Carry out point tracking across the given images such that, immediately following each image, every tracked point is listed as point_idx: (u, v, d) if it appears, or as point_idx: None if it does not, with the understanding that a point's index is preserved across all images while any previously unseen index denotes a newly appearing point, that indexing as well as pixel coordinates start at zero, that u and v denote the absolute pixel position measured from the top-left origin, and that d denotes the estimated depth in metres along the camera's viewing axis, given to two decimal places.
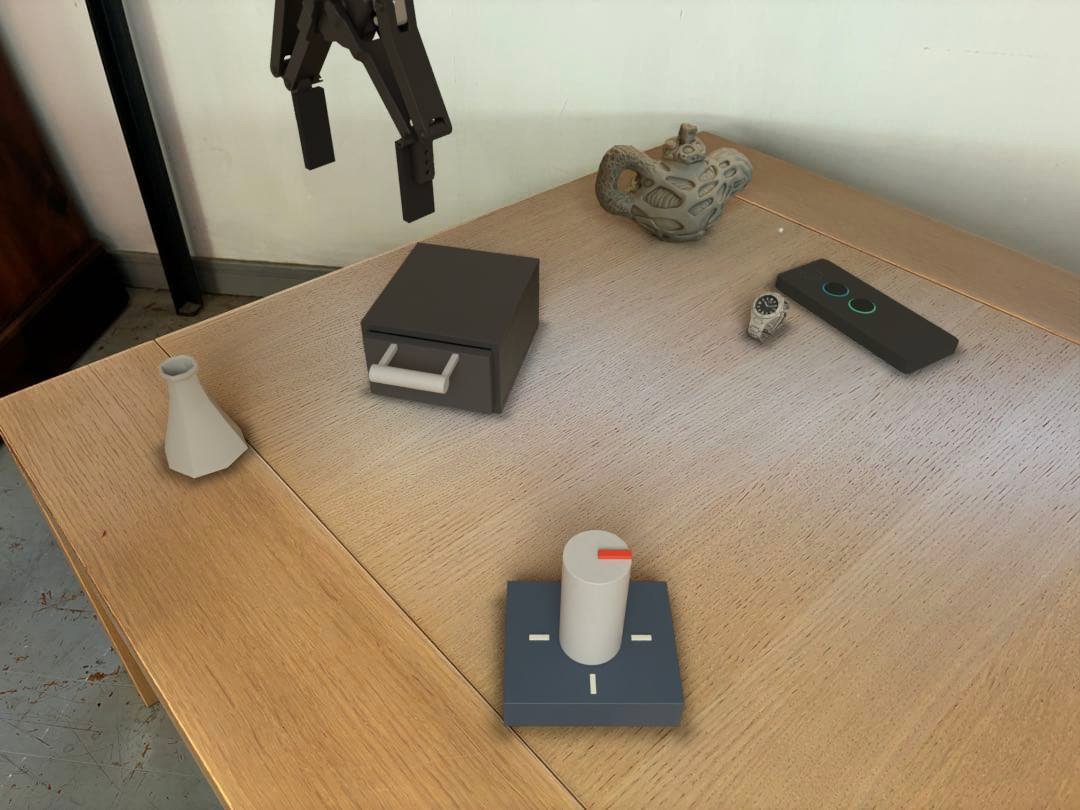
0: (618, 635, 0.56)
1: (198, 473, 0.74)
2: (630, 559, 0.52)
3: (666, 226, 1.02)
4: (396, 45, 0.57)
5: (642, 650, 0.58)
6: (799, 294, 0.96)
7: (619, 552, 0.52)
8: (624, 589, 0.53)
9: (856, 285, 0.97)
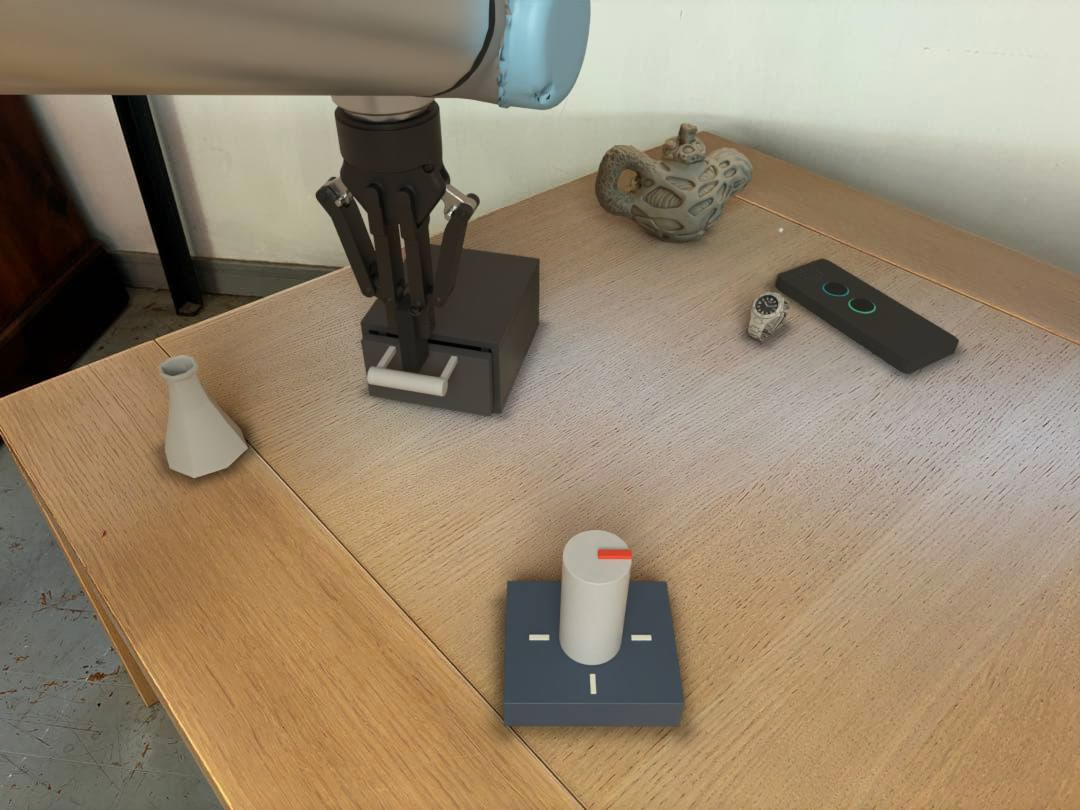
0: (618, 635, 0.56)
1: (198, 473, 0.74)
2: (630, 559, 0.52)
3: (666, 226, 1.02)
4: (458, 241, 0.64)
5: (642, 650, 0.58)
6: (799, 294, 0.96)
7: (619, 552, 0.52)
8: (624, 589, 0.53)
9: (856, 285, 0.97)
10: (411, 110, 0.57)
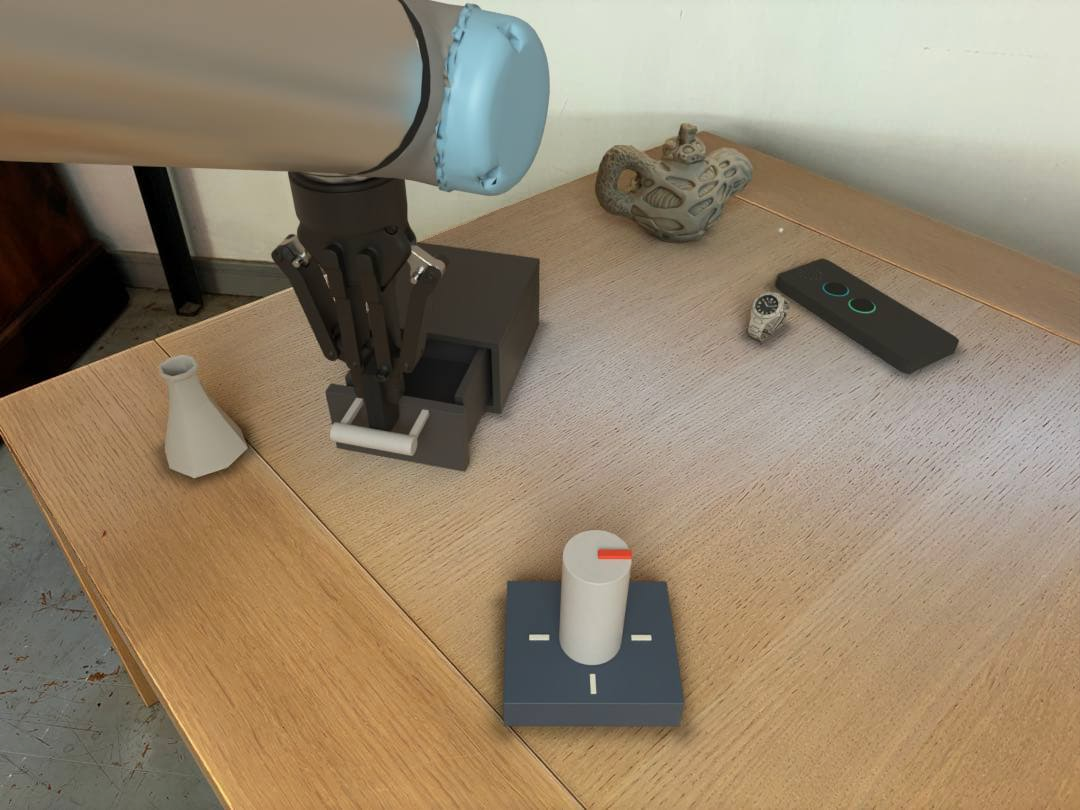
0: (618, 635, 0.56)
1: (198, 473, 0.74)
2: (630, 559, 0.52)
3: (666, 226, 1.02)
4: (425, 306, 0.59)
5: (642, 650, 0.58)
6: (799, 294, 0.96)
7: (619, 552, 0.52)
8: (624, 589, 0.53)
9: (856, 285, 0.97)
10: None
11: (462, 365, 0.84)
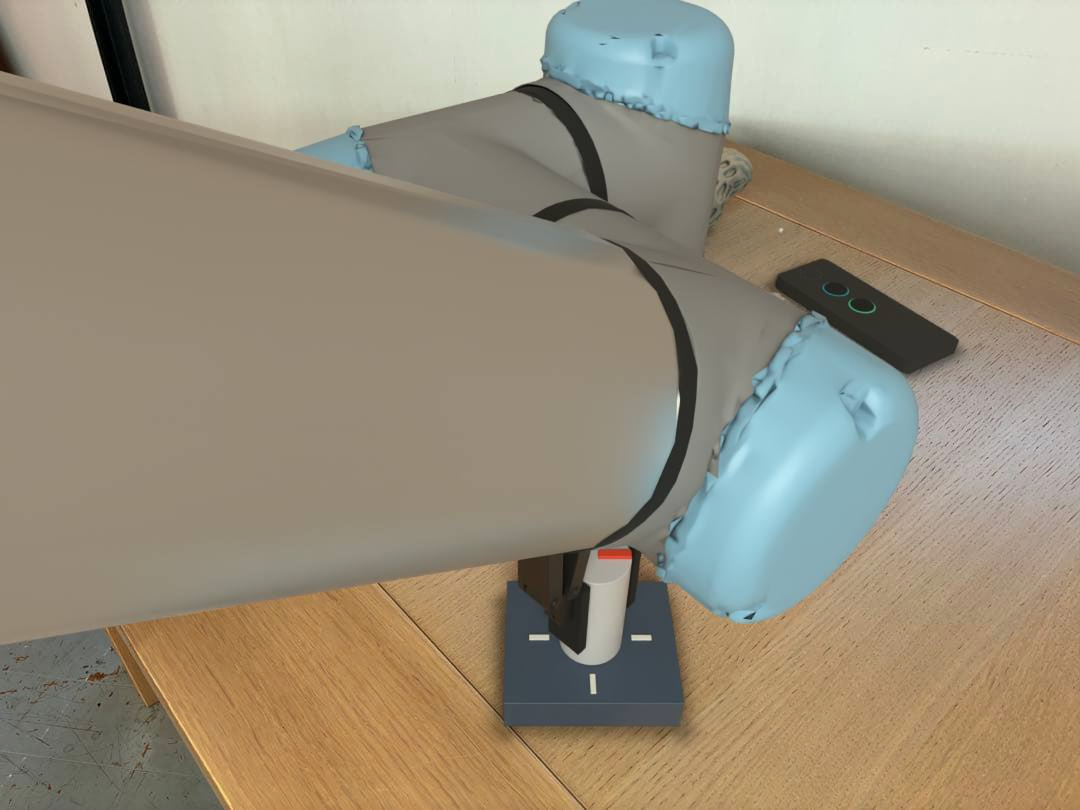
0: (618, 635, 0.56)
1: None
2: (630, 559, 0.52)
3: None
4: None
5: (642, 650, 0.58)
6: (799, 294, 0.96)
7: (619, 552, 0.52)
8: (624, 589, 0.53)
9: (856, 285, 0.97)
10: None
11: None
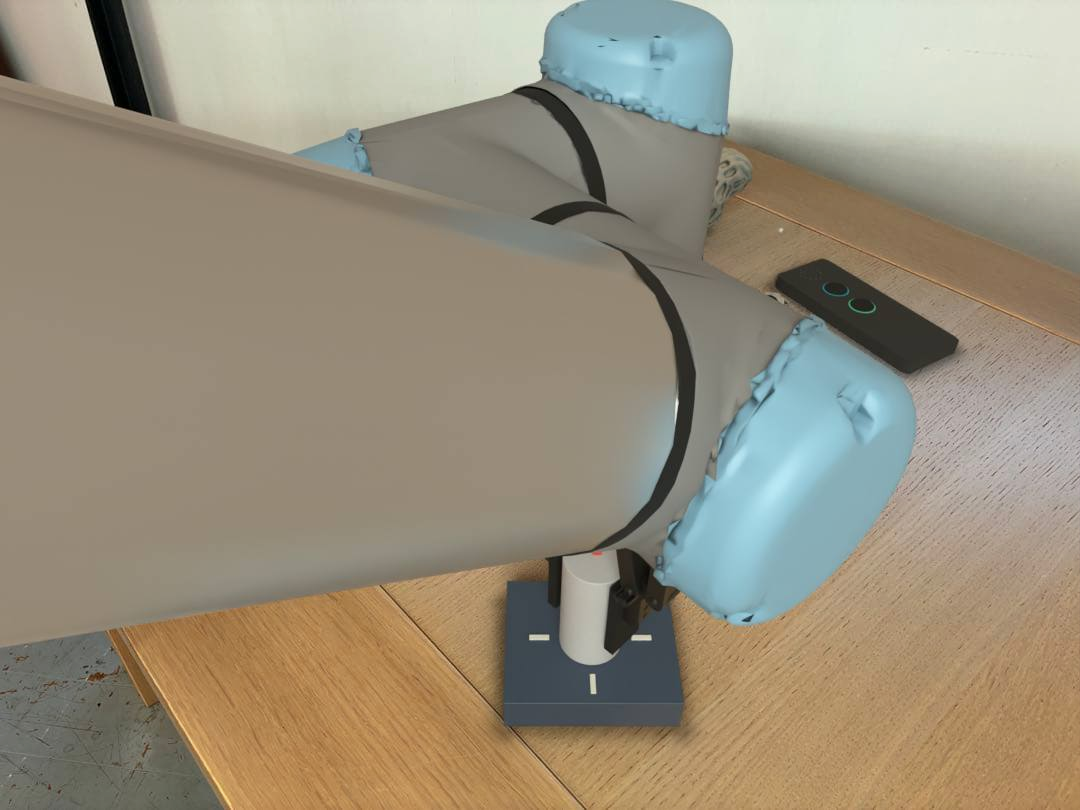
0: None
1: None
2: None
3: None
4: None
5: (642, 650, 0.58)
6: (799, 294, 0.96)
7: None
8: None
9: (856, 285, 0.97)
10: None
11: None
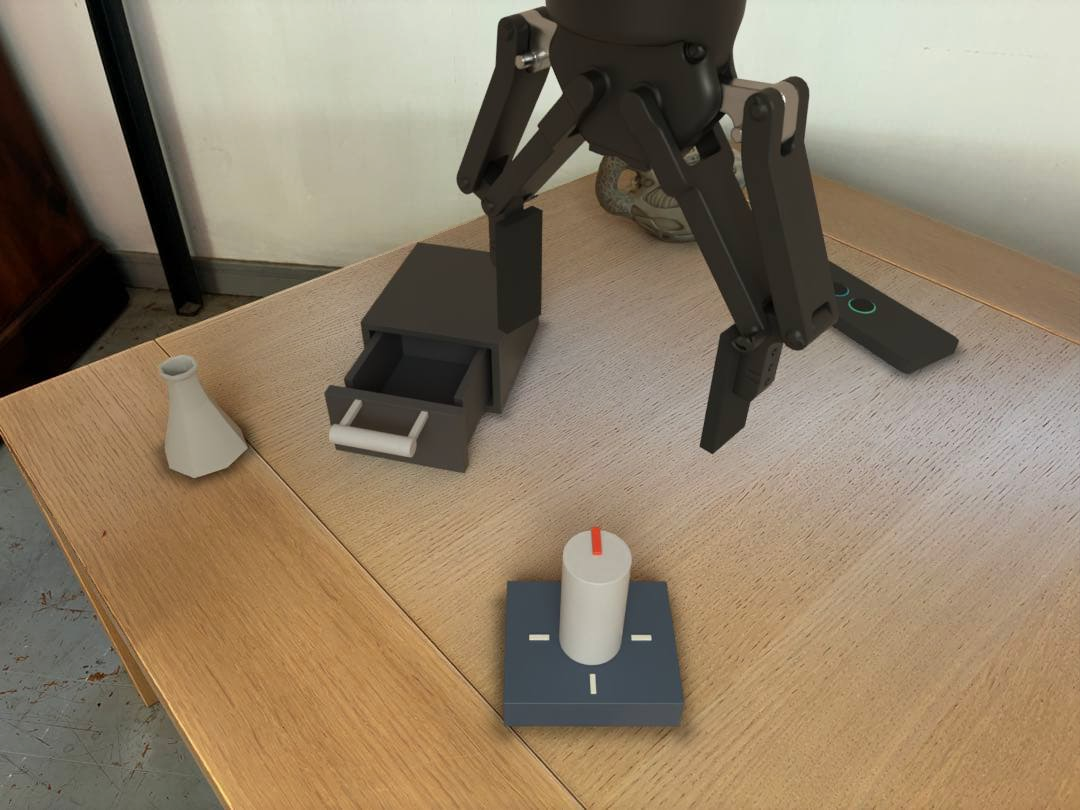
0: None
1: (198, 473, 0.74)
2: (600, 530, 0.54)
3: (666, 226, 1.02)
4: (777, 181, 0.30)
5: (642, 650, 0.58)
6: None
7: (595, 535, 0.53)
8: None
9: (856, 285, 0.97)
10: None
11: (461, 366, 0.84)
